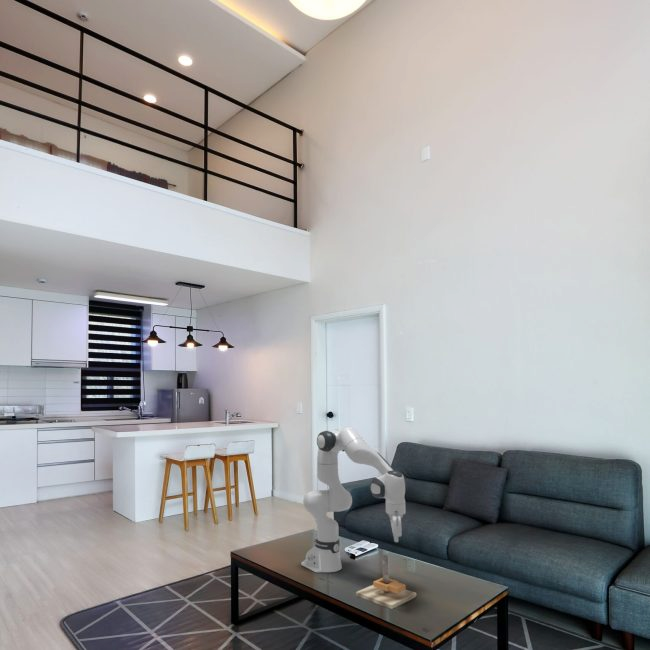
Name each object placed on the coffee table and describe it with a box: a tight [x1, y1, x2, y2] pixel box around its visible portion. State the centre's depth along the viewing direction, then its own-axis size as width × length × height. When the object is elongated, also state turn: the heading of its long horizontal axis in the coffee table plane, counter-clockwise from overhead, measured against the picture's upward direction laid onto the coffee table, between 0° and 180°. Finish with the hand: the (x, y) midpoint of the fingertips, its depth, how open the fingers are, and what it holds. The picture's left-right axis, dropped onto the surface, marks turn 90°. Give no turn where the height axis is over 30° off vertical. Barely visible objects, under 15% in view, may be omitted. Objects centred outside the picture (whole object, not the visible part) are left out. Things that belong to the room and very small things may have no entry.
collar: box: [372, 577, 407, 594], centre depth 222 cm, size 12×8×2 cm, turn 45°
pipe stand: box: [355, 554, 417, 610], centre depth 224 cm, size 20×18×17 cm
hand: (396, 541), depth 222 cm, fingers closed
